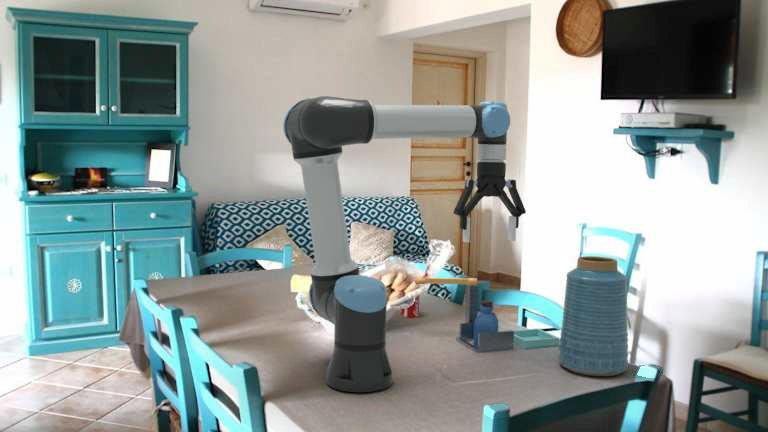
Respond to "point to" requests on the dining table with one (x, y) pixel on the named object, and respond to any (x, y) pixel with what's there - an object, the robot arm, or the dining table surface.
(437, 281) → the bar
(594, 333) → the vase
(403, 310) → the beverage can
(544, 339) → the tray
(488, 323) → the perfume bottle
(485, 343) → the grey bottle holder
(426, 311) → the dining table surface
